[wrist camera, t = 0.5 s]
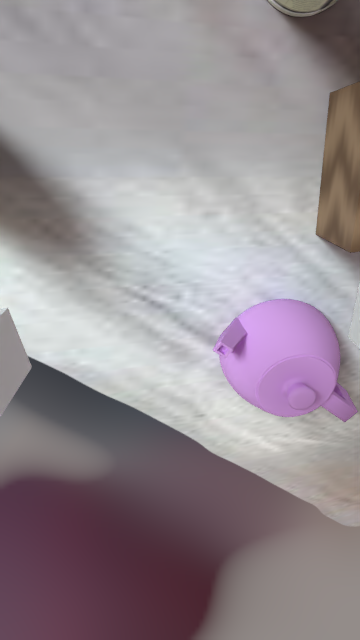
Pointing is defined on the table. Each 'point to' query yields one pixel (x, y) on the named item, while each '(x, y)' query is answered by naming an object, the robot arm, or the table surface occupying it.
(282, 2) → the coffee can
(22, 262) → the table surface
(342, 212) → the walnut block
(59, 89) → the table surface
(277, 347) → the teapot
